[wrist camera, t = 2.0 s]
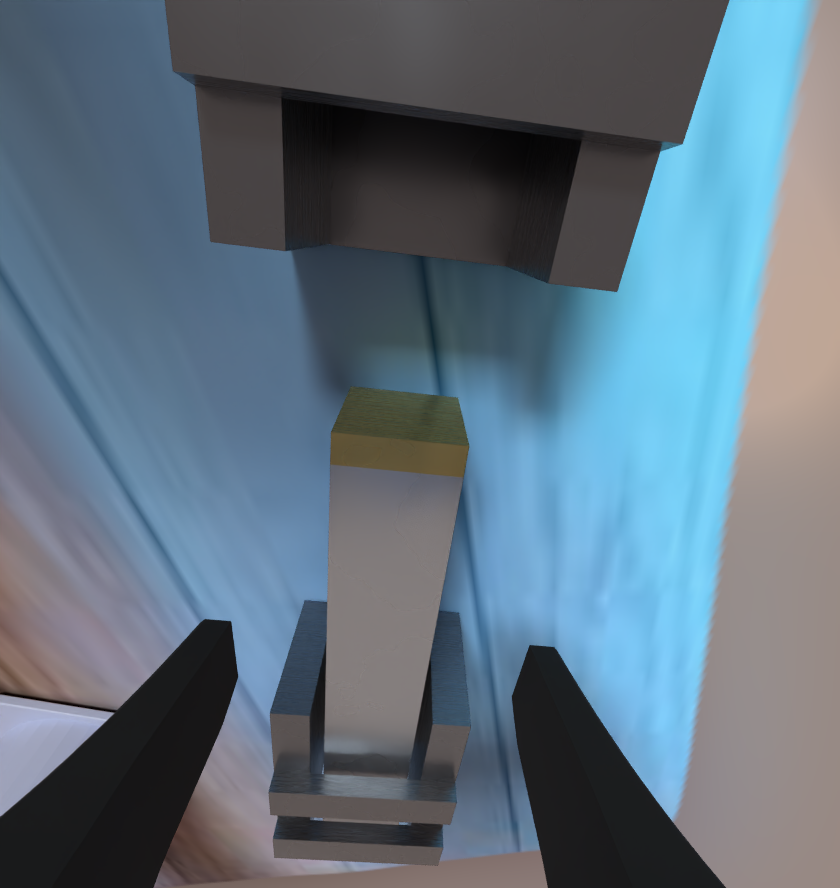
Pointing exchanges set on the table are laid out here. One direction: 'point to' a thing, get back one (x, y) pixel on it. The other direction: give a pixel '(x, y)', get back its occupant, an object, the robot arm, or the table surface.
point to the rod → (386, 571)
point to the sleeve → (356, 797)
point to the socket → (442, 123)
